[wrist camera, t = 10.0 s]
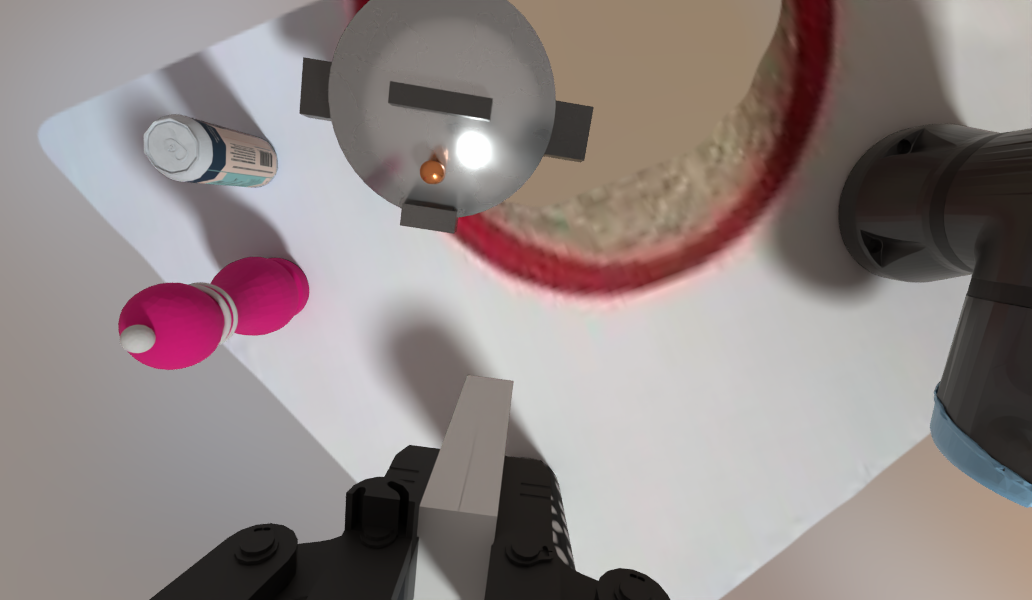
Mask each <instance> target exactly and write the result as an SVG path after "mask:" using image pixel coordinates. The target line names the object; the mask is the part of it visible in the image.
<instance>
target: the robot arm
mask: <svg viewBox="0 0 1032 600" xmlns="http://www.w3.org/2000/svg"><path fill="white" fill-rule="evenodd" d="M839 224H840V230H841V234H842V238H843V240H844V243H845V245H846V247H847V249H848V251H849V252H850V254H851V255H852V256H853V258H854V259H855V260H856V261H857V262H858V263H859V264H860V265H861V266H862V267H864V268H865V269H867V270H868V271H870V272H872V273H874V274H876V275H878V276H881V277H884V278H889V279H894V280H899V281H905V282H932V281H937V280H943V279H948V278H954V277H959V276H965V275H970V274H972V278H971V282H970V285H969V288H968V292H967V295H966V297H965V301H964V304H963V308H962V311H961V314H960V318H959V321H958V325H957V328H956V331H955V335H954V338H953V342H952V345H951V348H950V352H949V355H948V359H947V362H946V365H945V369H944V372H943V376H942V379H941V381H940V382H939V383H938V384H937V386H936V388H935V390H934V394H935V396H934V401H935V405H934V410H933V414H932V418H931V423H930V429H931V435H932V438H933V441H934V443H935V445H936V446H937V448H938V449H939V450H940V452H941V453H942V454H943V455H944V456H945V457H946V458H947V459H948V460H949V461H950V462H951V463H952V464H953V465H954V466H956V467H957V468H958V469H960V470H961V471H962V472H964V473H965V474H967V475H968V476H969V477H971V478H972V479H974V480H975V481H977V482H979V483H980V484H982V485H983V486H985V487H987V488H988V489H990V490H992V491H994V492H995V493H997V494H999V495H1001V496H1003V497H1005V498H1007V499H1009V500H1011V501H1013V502H1015V503H1017V504H1019V505H1022V506H1024V507H1032V128H1031V129H1025V130H1019V131H1013V132H1006V133H997V132H992V131H987V130H982V129H977V128H972V127H967V126H962V125H956V124H931V125H925V126H920V127H915V128H909V129H905V130H902V131H899V132H896V133H894V134H892V135H890V136H888V137H886V138H884V139H883V140H881V141H880V142H878V143H877V144H875V145H874V146H873V147H872V148H871V149H869V150H868V151H867V152H866V153H865V154H864V155H863V156H862V158H861V159H860V160H859V161H858V163H857V164H856V165H855V167H854V168H853V170H852V171H851V173H850V175H849V177H848V179H847V181H846V183H845V186H844V189H843V192H842V196H841V200H840V207H839ZM512 389H513V381H510V380H502V379H495V378H487V377H479V376H471V375H467V378H466V380H465V383H464V386H463V389H462V391H461V394H460V397H459V400H458V402H457V405H456V408H455V410H454V413H453V416H452V419H451V421H450V424H449V427H448V430H447V432H446V435H445V438H444V441H443V443H442V446H441V449H436V448H428V447H421V446H413V445H409V446H407V447H406V448H405V449H403V450H402V451H400V452H399V453H398V454H396V456H395V458H394V460H393V461H392V463H391V465H390V468H389V469H388V471H387V473H386V475H385V477H375V478H370V479H366V480H363V481H361V482H359V483H357V484H355V485H354V486H353V487H352V488H351V489H350V490H349V491H348V492H347V493H346V512H345V531H344V533H343V534H342V536H340V537H337V538H334V539H331V540H326V541H321V542H312V543H303V544H297V543H298V541H297V540H298V539H297V538H296V535H295V533H294V531H292V530H290V529H289V528H287V527H286V526H284V525H278V524H272V523H270V524H260V525H255V526H252V527H249V528H246V529H243V530H241V531H239V532H237V533H235V534H234V535H232V536H230V537H229V538H227V539H226V540H225V541H223V542H222V543H221V544H220V545H218V546H217V547H216V548H215V549H213V550H212V551H211V552H209V553H208V554H207V555H206V556H204V557H203V558H202V559H200V560H199V561H198V562H197V563H195V564H194V565H193V566H192V567H190V568H189V569H188V570H187V571H185V572H184V573H183V574H181V575H180V576H179V577H178V578H176V579H175V580H174V581H173V582H171V583H170V584H169V585H168V586H166V587H165V588H164V589H162V590H161V591H160V592H159V593H157V594H156V595H155V596H154V597H152V598H151V599H150V600H670V598H669V596H668V595H667V594H666V592H665V591H664V590H663V589H662V587H661V586H660V585H659V584H658V583H657V582H655V581H654V580H653V579H651V578H650V577H648V576H647V575H645V574H643V573H640V572H637V571H635V570H632V569H622V568H618V569H614V570H610V571H607V572H606V573H605V574H604V575H602V576H601V577H600V579H599V581H597V580H595V579H592V578H590V577H588V576H585V575H583V574H581V573H579V572H577V571H575V570H573V569H572V568H570V567H569V566H568V565H567V564H565V563H564V562H563V560H562V559H561V558H560V557H559V556H558V554H557V551H556V548H555V547H554V543H553V527H552V505H551V489H550V488H551V483H550V472H549V471H548V470H547V468H546V467H545V465H544V464H543V462H542V461H539V460H531V459H524V458H516V457H508V456H505V448H506V439H507V431H508V423H509V414H510V406H511V398H512Z"/></svg>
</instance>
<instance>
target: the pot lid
mask: <svg viewBox="0 0 1032 600" xmlns="http://www.w3.org/2000/svg"><path fill="white" fill-rule="evenodd" d="M329 108H330V116H331V120H332V124H333V128H334V132H335V135H336V137H337V140H338V142H339V145H340V147H341V149H342V151H343V153H344V155H345V157H346V159H347V160H348V162H349V163H350V165H351V166H352V168H353V169H354V171H355V172H356V173H357V174H358V175H359V177H360V178H361V179H362V180H363V181H364V182H365V183H366V184H367V185H368V186H369V187H370V188H371V189H372V190H373V191H375V192H376V193H377V194H378V195H380V196H381V197H383V198H384V199H386V200H387V201H388V202H390V203H392V204H394V205H396V206H398V207H400V208H402V212H401V222H400V225H402V226H408V227H415V228H421V229H428V230H434V231H441V232H447V233H455V232H456V231H457V223H458V217H463V216H469V215H473V214H476V213H480V212H483V211H486V210H488V209H490V208H492V207H494V206H496V205H498V204H500V203H501V202H503V201H504V200H506V199H507V198H509V197H510V196H511V195H512V194H514V193H515V192H516V191H517V190H518V189H520V188H521V187H522V185H523V184H524V183H525V182H526V181H527V180H528V179H529V178H530V176H531V175H532V174H533V172H534V171H535V169H536V168H537V166H538V165H539V163H540V161H541V159H542V157H543V155H544V153H545V151H546V149H547V146H548V143H549V140H550V138H551V133H552V129H553V125H554V118H555V108H556V100H555V85H554V78H553V73H552V69H551V66H550V62H549V59H548V56H547V54H546V51H545V49H544V47H543V44H542V42H541V41H540V39H539V37H538V35H537V34H536V32H535V30H534V29H533V27H532V26H531V25H530V23H529V22H528V21H527V19H526V18H525V17H524V16H523V15H522V14H521V13H520V12H519V11H518V10H517V9H516V8H515V7H514V6H513V5H512V4H511V3H510V2H508V1H507V0H370V1H369V2H368V3H367V4H365V5H364V6H363V7H362V8H361V9H360V10H359V11H358V12H357V14H356V15H355V16H354V18H353V19H352V20H351V22H350V23H349V24H348V26H347V28H346V29H345V31H344V33H343V35H342V36H341V38H340V41H339V43H338V46H337V48H336V51H335V53H334V57H333V61H332V65H331V69H330V77H329Z"/></svg>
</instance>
